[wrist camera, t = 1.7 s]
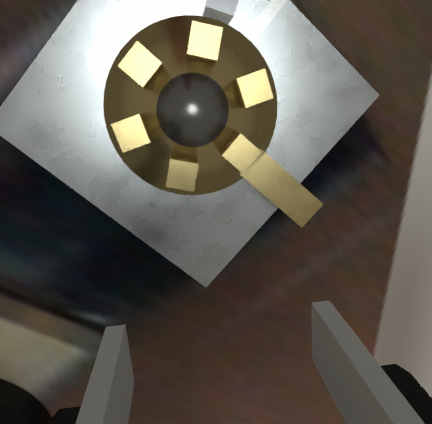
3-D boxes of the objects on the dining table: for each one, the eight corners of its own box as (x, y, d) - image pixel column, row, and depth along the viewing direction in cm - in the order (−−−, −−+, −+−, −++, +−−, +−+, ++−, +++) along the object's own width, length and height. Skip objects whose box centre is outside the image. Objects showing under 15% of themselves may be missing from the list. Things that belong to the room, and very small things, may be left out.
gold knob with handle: (79, 118, 27) (61, 121, 23) (179, -13, 25) (180, -36, 21) (252, 256, 31) (263, 280, 27) (347, 150, 30) (376, 158, 25)
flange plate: (204, 277, 34) (209, 309, 28) (-1, 124, 29) (-41, 128, 24) (370, 91, 31) (410, 88, 26) (174, -115, 26) (173, -170, 21)
